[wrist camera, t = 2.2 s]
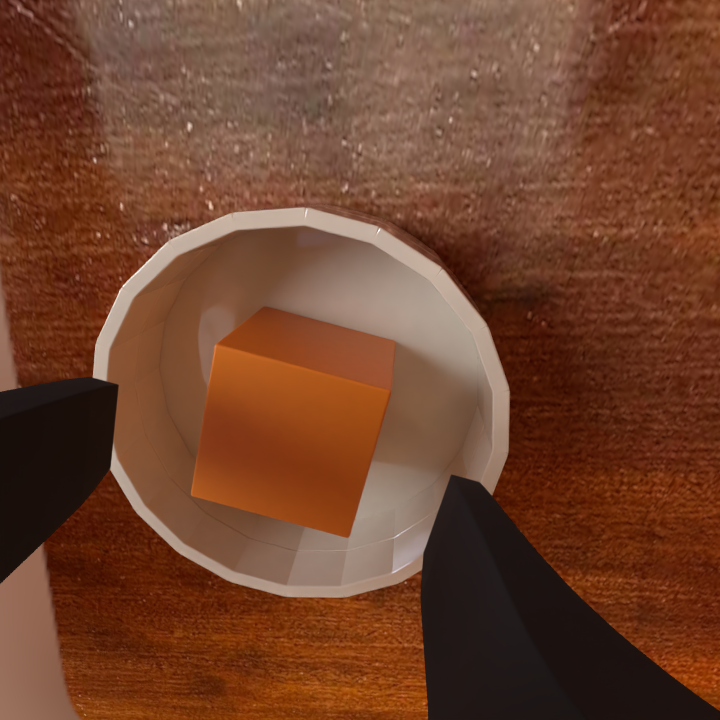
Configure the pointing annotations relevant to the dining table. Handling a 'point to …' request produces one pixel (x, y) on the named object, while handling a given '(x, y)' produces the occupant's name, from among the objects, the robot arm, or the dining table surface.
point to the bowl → (327, 304)
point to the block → (293, 419)
